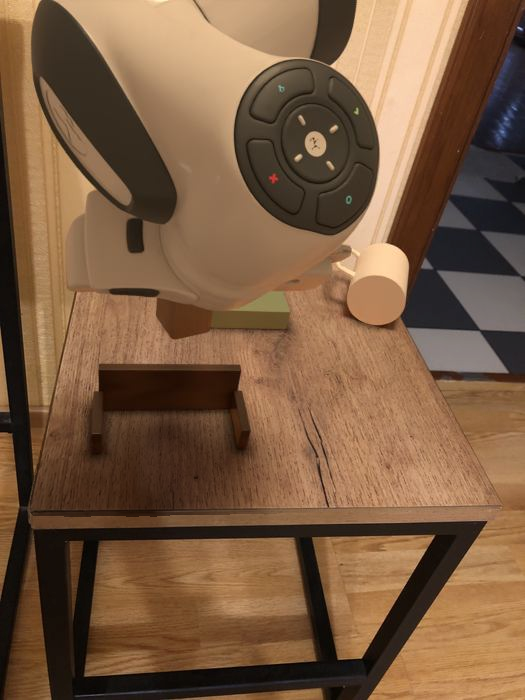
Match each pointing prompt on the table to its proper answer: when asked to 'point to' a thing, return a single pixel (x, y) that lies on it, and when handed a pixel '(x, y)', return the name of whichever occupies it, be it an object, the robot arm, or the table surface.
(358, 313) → the cup
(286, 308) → the board
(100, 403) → the frame
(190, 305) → the wooden block
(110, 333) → the table surface
